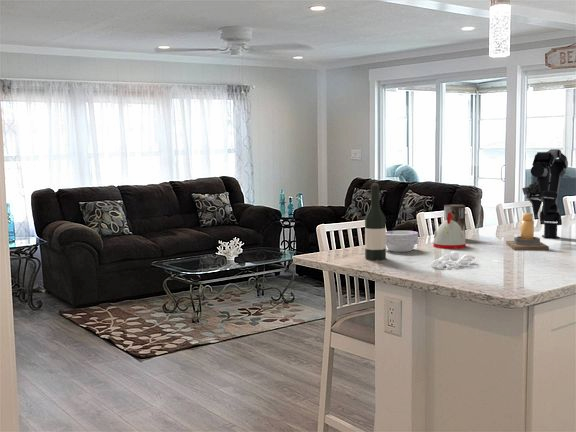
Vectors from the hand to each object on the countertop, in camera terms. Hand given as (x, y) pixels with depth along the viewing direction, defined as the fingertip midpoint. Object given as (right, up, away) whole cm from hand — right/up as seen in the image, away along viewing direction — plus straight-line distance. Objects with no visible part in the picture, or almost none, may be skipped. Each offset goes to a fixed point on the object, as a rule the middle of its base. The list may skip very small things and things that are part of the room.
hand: (540, 214), depth 300 cm
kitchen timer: (-41, -14, -3) cm, 44 cm away
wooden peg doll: (-9, -13, -10) cm, 18 cm away
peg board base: (-9, -14, -10) cm, 19 cm away
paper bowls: (-64, -16, -12) cm, 67 cm away
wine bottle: (-78, -18, -31) cm, 85 cm away
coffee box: (-34, -12, +17) cm, 40 cm away
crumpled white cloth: (-50, -20, -48) cm, 72 cm away
